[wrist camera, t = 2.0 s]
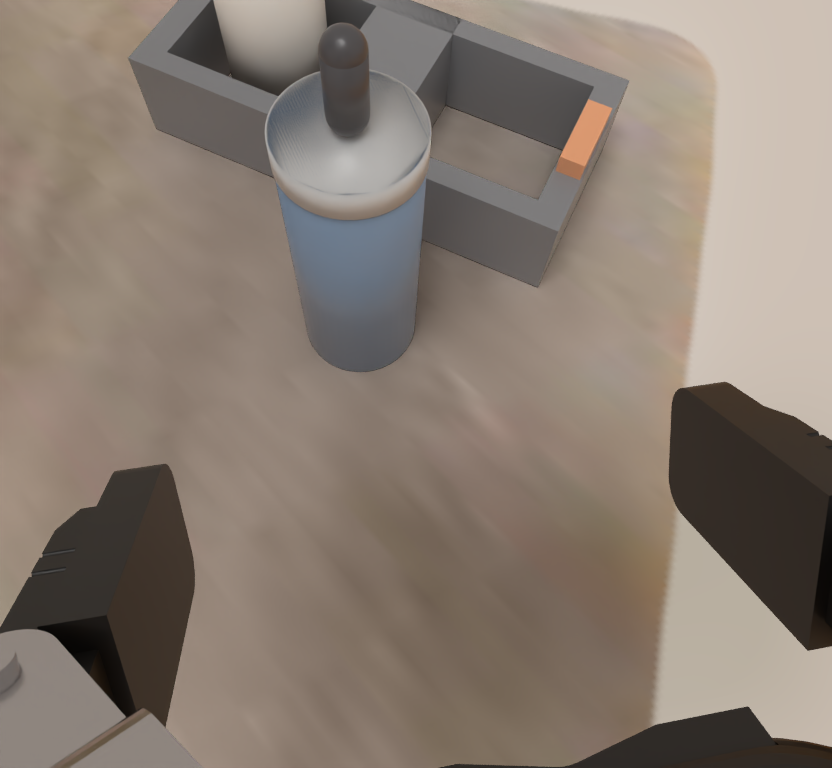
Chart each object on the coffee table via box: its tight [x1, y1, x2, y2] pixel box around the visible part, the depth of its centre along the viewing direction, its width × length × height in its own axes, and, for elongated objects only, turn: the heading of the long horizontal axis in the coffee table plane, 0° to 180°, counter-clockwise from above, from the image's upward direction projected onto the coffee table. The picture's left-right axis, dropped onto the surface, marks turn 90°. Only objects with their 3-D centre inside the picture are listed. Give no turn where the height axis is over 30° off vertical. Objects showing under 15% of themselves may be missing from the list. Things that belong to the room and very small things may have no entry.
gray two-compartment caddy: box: [128, 0, 629, 287], centre depth 27 cm, size 19×8×14 cm, turn 65°
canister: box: [265, 23, 432, 372], centre depth 23 cm, size 4×4×14 cm
